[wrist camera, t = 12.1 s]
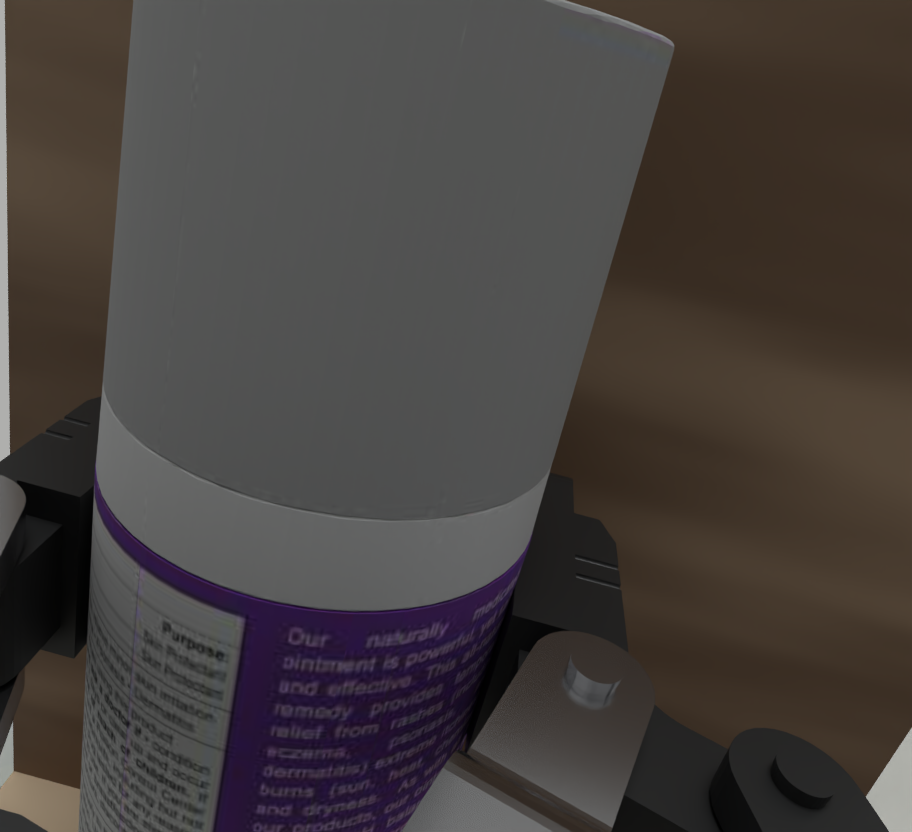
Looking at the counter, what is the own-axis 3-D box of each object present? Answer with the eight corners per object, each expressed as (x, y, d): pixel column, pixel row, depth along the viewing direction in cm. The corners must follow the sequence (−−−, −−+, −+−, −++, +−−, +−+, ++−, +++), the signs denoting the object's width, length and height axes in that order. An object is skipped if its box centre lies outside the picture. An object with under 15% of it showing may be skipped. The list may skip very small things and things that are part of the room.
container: (383, 885, 15) (634, 47, 9) (348, 1208, 11) (776, 50, 5) (137, 843, 15) (224, -61, 9) (4, 1161, 11) (-14, -162, 4)
